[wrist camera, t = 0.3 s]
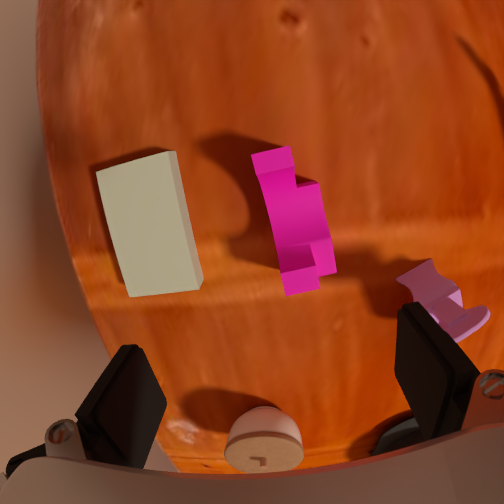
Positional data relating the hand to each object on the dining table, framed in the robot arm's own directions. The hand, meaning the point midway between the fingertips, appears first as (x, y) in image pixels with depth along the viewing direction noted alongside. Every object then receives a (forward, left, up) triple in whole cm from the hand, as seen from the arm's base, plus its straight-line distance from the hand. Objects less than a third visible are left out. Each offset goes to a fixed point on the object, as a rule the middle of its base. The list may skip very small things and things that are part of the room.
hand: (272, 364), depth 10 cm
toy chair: (+15, +20, -28) cm, 38 cm away
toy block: (0, +3, -29) cm, 29 cm away
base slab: (-1, -15, -29) cm, 32 cm away
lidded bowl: (+36, -7, -28) cm, 46 cm away
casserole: (+55, +22, -29) cm, 66 cm away
